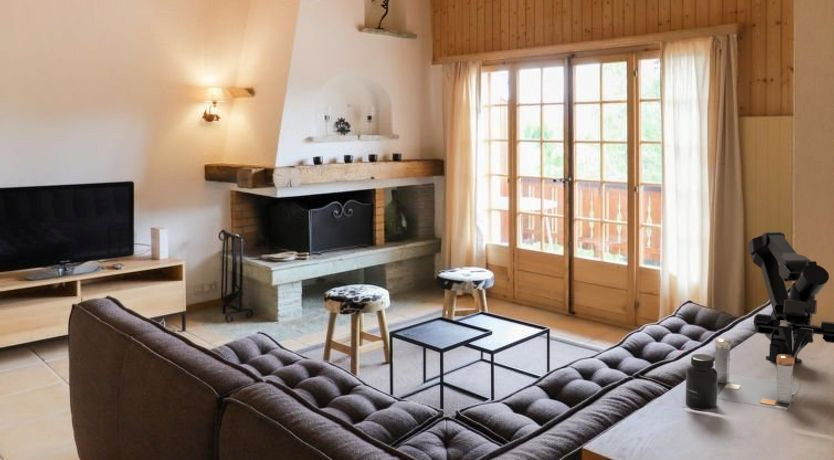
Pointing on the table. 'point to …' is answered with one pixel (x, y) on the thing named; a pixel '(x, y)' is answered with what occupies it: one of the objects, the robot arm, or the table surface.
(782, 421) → the table surface
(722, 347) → the lever
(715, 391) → the supplement bottle
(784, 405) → the switch board
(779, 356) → the lever
